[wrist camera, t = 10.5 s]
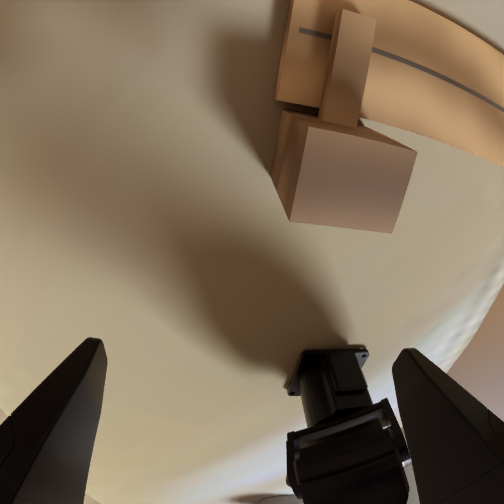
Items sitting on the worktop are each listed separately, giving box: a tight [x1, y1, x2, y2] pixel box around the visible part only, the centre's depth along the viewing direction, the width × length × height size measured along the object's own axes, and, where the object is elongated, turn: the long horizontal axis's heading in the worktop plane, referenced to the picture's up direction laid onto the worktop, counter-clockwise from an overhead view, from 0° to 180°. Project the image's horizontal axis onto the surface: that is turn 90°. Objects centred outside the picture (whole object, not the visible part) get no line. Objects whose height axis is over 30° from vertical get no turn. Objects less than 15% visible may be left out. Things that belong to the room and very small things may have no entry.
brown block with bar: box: [271, 9, 417, 234], centre depth 14 cm, size 10×5×6 cm, turn 172°
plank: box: [274, 0, 504, 167], centre depth 15 cm, size 8×20×1 cm, turn 82°
